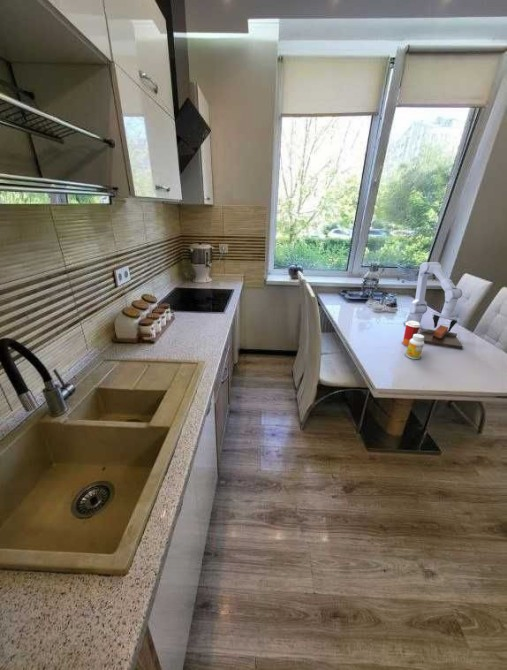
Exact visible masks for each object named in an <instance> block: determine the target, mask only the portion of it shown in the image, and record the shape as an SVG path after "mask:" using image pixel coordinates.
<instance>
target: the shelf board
mask: <svg viewBox="0 0 507 670" xmlns="http://www.w3.org/2000/svg"><path fill="white" fill-rule="evenodd" d="M419 330H420V331H419V334H421V335H423V336H424V340H423V341H424V345H431V346H436V347H438V346H439V347H444V348H449V349H455V350H463V347H464V346H463V344H462V343H461V341H460V340H459V338H458V337H457V336H458V333H457V332H451V331H450V332H448V333H447V334H446V335H445V336H444V337H443V338H442V339H441V340H439V339H436V338H433V334H434V331H435V330H436V329H430V328H424V327H423V328H422V327H421V328H420V329H419Z"/></svg>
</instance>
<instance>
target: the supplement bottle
mask: <svg viewBox="0 0 507 670" xmlns="http://www.w3.org/2000/svg"><path fill="white" fill-rule="evenodd" d="M423 340H424V336H423V335H421V334H420V333H417V334H414V335H413V338H412V339H410V342H409V345H408V346H407V349H406V352H405V356H406V357H408V358H410V359H412V360H419V359H420V358H421V356H422V352H423V349H424V347H425V344H424V341H423Z"/></svg>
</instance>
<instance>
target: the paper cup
mask: <svg viewBox="0 0 507 670" xmlns="http://www.w3.org/2000/svg"><path fill="white" fill-rule="evenodd" d="M420 327H421V322H420V323H419V322H416V321H408V322H407V323H406V326H405V329H404V335H403V339H402V344H403V345H404V346H406V347H408V345H409V342H410V339H412V338H413V335H414V334H419V330H420V329H421V328H422V327H421V328H420Z"/></svg>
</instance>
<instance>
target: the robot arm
mask: <svg viewBox="0 0 507 670" xmlns="http://www.w3.org/2000/svg"><path fill="white" fill-rule="evenodd" d="M431 275H434V276H435V277H436V278H437V279H438V280H439V282H440V284H439V285H440V287H441V288H442V290H443V291H444V303H443V307H442V310H441V312H436V311H433V312H432V314H431V316H432V320H433V328H434V329H437V328H438V327H437V326H438V323H439V320H440V319H446V320H449V321H450V323H449V327H448V330H447V331H448V332H451V331H452V328H453V327H455V325H456V324H457V323H460V322H461V318H460V317H456V316H454V312H455V310H456V307H457V303H458V300H459V299H460V298H462V297H463V291H462V289H461V288H458V287H457V286H456V285H455V284H454V282H453V280H452V279H450V278H447V276H446V275H445V273H444V271H443V269H442V264H441V263H440V262H439V261H424V262H423V263H421V264H420V265H419V271H418V275H417V285H416V289H415V290H416V292H415V299H414V300H413V301H411V302H410V306H409V308H408V311H409V312H407V313H406V315H405V319H404V325H405V327H406V323H407V322H408V321H416V322H419V323H420V324H421V323H422V322H421V321H422V318H423V315H425V313H427V312H428V302H427V301H426V299H425V298H426V292H427V287H428V286H427V285H428V278H429V277H430V276H431ZM421 328H422V327H420V328H419V329H421Z"/></svg>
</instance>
